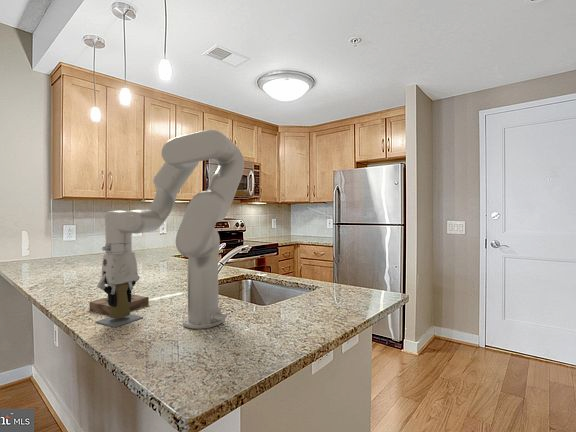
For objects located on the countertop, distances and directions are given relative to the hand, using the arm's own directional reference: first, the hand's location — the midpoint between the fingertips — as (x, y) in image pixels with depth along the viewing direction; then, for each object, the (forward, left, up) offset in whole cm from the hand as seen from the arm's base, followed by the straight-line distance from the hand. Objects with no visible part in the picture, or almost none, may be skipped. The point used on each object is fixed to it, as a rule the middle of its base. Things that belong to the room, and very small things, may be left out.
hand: (120, 303), depth 105 cm
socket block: (+13, -9, -6) cm, 17 cm away
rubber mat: (0, 0, -6) cm, 6 cm away
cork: (0, 0, -4) cm, 4 cm away
